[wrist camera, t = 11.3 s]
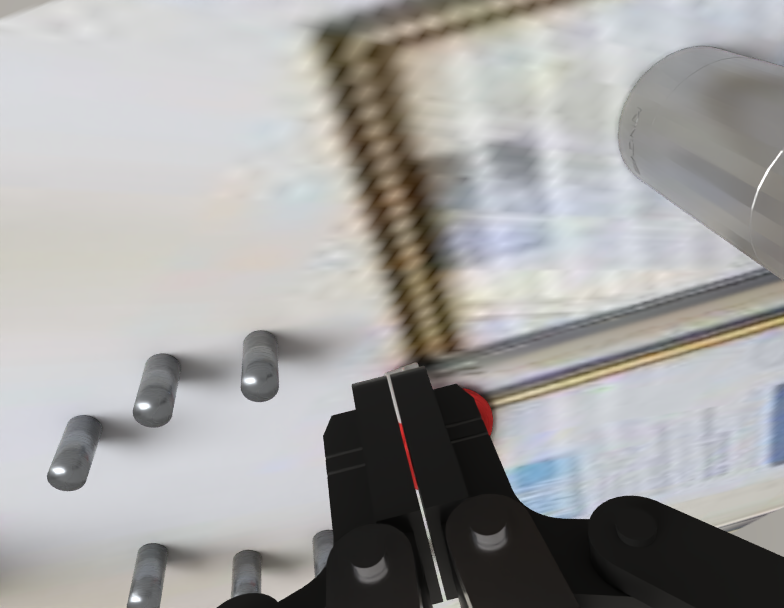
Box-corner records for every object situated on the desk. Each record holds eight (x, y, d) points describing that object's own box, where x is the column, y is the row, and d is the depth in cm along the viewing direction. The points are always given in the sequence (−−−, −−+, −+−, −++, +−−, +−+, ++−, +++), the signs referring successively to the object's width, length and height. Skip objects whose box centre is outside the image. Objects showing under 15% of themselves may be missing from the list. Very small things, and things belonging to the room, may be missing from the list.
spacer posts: (369, 304, 47) (380, 342, 43) (431, 579, 63) (443, 627, 59) (39, 382, 46) (16, 429, 42) (186, 642, 62) (180, 695, 58)
